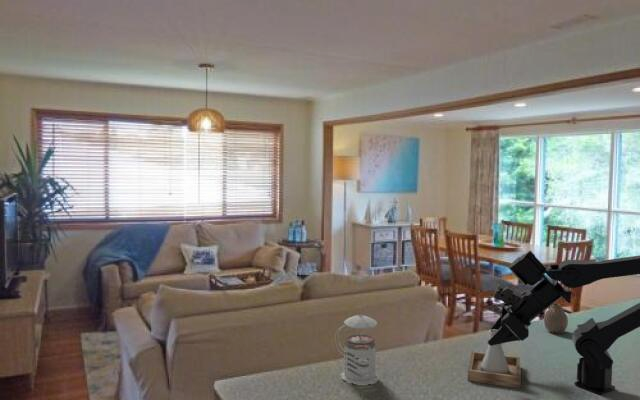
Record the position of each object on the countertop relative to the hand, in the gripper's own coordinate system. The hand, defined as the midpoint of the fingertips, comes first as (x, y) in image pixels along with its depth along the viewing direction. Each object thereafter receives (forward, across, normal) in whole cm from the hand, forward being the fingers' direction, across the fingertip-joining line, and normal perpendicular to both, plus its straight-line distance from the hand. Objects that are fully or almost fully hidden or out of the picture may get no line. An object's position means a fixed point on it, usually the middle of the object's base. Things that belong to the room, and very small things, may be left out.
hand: (489, 338), depth 129 cm
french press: (+28, +14, -15) cm, 35 cm away
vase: (-7, -42, +20) cm, 47 cm away
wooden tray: (+5, 0, +7) cm, 9 cm away
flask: (+5, 0, +7) cm, 8 cm away
